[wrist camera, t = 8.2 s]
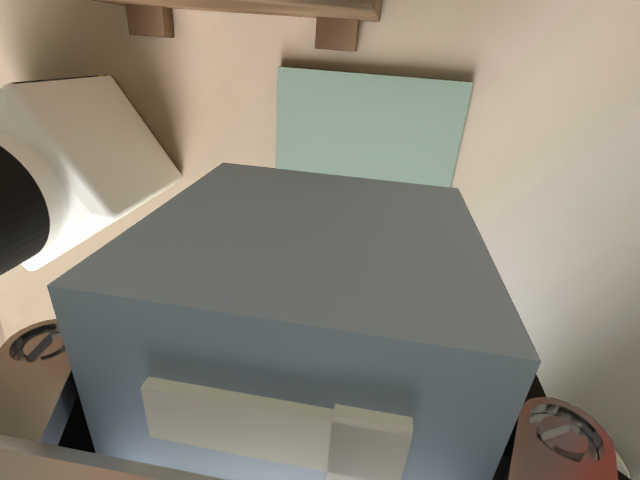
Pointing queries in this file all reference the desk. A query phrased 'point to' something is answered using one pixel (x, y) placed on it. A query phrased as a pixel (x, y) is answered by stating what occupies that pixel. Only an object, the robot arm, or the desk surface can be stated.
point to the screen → (322, 3)
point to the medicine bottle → (71, 165)
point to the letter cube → (298, 333)
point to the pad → (370, 125)
